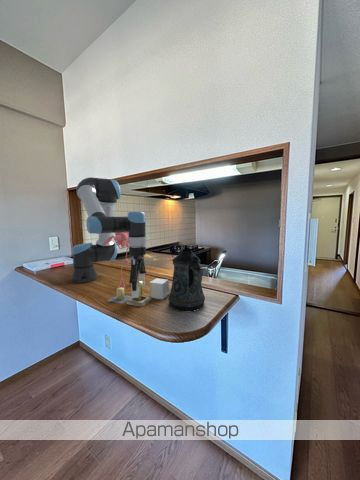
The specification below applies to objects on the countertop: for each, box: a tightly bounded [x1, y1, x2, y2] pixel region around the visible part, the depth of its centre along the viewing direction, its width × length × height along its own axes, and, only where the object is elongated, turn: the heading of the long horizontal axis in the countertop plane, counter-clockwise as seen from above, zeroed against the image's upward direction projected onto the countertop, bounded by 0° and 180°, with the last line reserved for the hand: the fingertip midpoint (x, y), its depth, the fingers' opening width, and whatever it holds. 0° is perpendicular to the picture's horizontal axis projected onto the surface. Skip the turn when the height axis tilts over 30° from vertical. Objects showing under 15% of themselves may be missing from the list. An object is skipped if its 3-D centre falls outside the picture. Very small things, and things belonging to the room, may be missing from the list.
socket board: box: [126, 294, 152, 307], centre depth 93 cm, size 8×8×2 cm
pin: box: [135, 279, 144, 301], centre depth 92 cm, size 4×4×10 cm
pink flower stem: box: [103, 232, 147, 291], centre depth 116 cm, size 15×26×35 cm, turn 141°
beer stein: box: [167, 249, 206, 312], centre depth 89 cm, size 16×19×25 cm
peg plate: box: [107, 286, 132, 305], centre depth 97 cm, size 9×9×5 cm
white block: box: [149, 277, 170, 300], centre depth 100 cm, size 7×7×8 cm
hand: (138, 291), depth 92 cm, fingers open, 13 cm apart
